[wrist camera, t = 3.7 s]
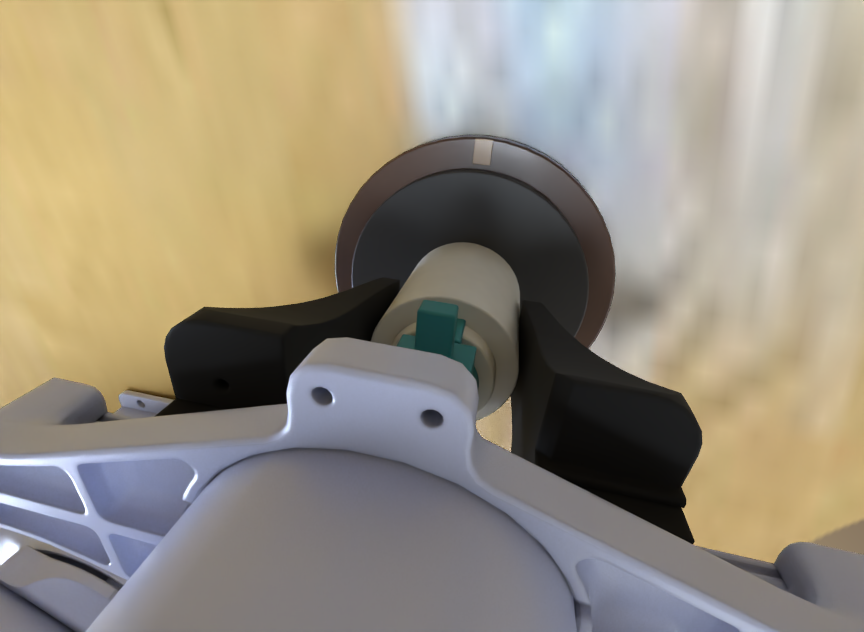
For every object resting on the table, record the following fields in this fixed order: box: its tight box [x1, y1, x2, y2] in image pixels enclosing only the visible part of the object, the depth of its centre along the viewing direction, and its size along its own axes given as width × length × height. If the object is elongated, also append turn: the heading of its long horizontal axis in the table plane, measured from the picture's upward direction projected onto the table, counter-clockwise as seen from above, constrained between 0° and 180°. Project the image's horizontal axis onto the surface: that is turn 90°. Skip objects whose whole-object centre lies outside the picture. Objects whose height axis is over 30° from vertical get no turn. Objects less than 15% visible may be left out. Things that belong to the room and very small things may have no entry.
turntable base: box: [335, 135, 616, 396], centre depth 16 cm, size 11×11×1 cm
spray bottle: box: [351, 169, 589, 420], centre depth 13 cm, size 9×9×8 cm
